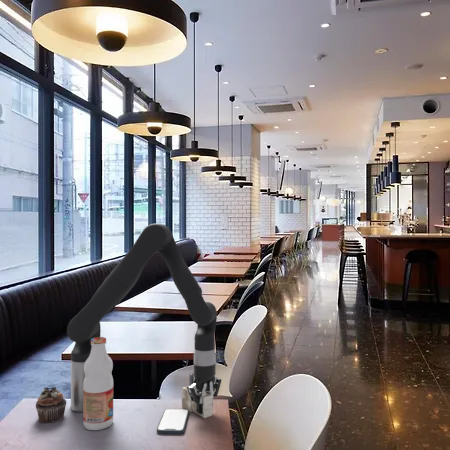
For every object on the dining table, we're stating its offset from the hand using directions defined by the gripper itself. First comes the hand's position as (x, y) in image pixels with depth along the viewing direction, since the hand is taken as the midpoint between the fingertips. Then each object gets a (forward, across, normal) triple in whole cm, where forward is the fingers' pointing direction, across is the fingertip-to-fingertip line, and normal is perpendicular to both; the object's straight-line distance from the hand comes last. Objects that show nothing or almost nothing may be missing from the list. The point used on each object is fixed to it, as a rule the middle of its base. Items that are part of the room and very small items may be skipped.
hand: (204, 411), depth 145 cm
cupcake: (+1, +40, -32) cm, 52 cm away
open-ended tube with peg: (+1, 0, -4) cm, 4 cm away
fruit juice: (+1, +30, -18) cm, 35 cm away
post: (+1, 0, -8) cm, 8 cm away
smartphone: (+2, +11, -2) cm, 12 cm away
